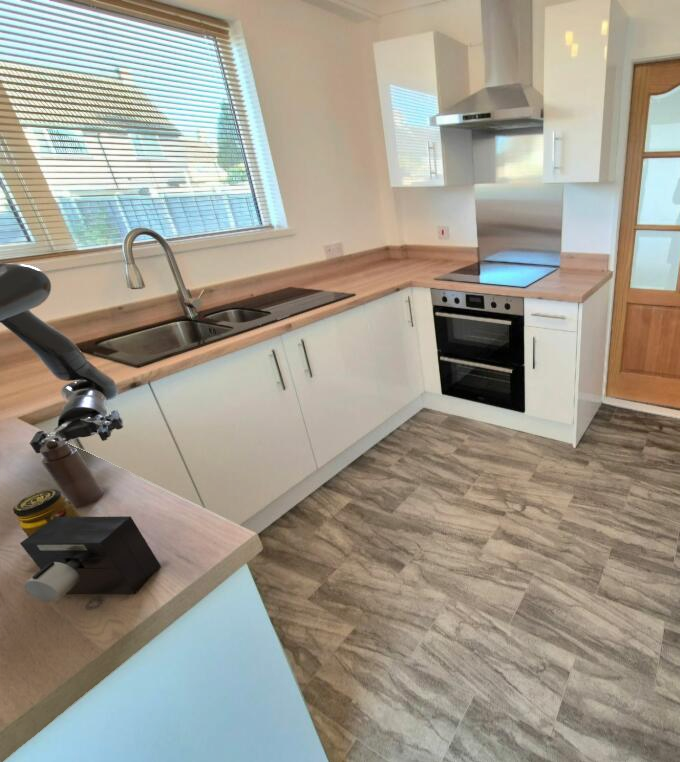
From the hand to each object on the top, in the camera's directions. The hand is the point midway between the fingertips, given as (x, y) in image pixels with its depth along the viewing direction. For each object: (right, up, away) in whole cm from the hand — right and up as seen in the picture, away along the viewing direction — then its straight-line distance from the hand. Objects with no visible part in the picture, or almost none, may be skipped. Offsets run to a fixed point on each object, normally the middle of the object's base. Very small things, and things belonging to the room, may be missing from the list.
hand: (75, 444), depth 88 cm
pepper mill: (+7, -10, -5) cm, 13 cm away
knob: (+28, -16, -29) cm, 43 cm away
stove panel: (+29, -18, -22) cm, 41 cm away
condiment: (+18, -16, -16) cm, 28 cm away
